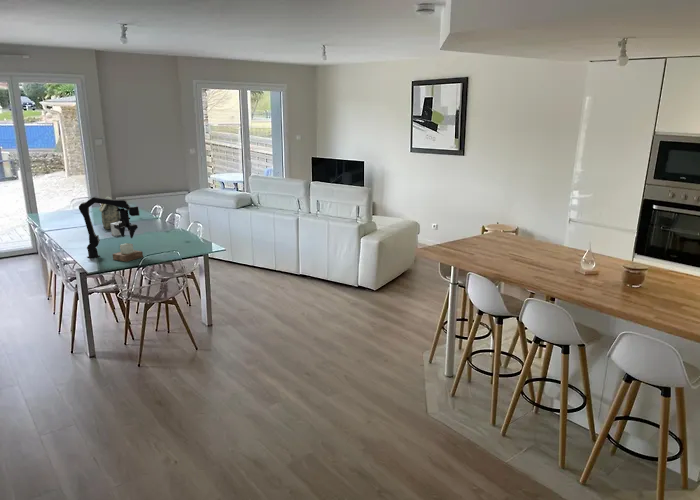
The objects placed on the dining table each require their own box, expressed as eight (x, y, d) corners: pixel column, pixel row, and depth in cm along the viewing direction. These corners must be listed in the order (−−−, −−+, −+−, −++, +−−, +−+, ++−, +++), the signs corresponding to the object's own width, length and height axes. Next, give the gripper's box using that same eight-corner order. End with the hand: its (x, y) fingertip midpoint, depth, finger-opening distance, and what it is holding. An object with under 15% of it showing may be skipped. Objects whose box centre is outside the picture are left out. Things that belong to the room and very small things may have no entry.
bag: (100, 225, 472) (96, 196, 465) (119, 223, 480) (115, 195, 473) (103, 230, 454) (99, 200, 447) (123, 228, 462) (119, 198, 455)
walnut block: (113, 259, 361) (112, 253, 360) (129, 254, 373) (129, 249, 372) (126, 261, 354) (125, 256, 353) (143, 256, 366) (142, 251, 365)
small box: (120, 233, 440) (119, 221, 437) (124, 234, 437) (122, 222, 434) (111, 235, 434) (109, 223, 432) (114, 236, 431) (113, 224, 428)
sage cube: (121, 253, 361) (119, 245, 360) (128, 251, 366) (127, 243, 365) (126, 254, 359) (125, 246, 357) (133, 252, 364) (132, 244, 362)
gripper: (106, 217, 366) (109, 238, 370) (123, 219, 357) (126, 241, 362) (119, 215, 376) (122, 235, 380) (136, 217, 367) (139, 238, 371)
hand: (127, 237), depth 373 cm, fingers open, 9 cm apart
